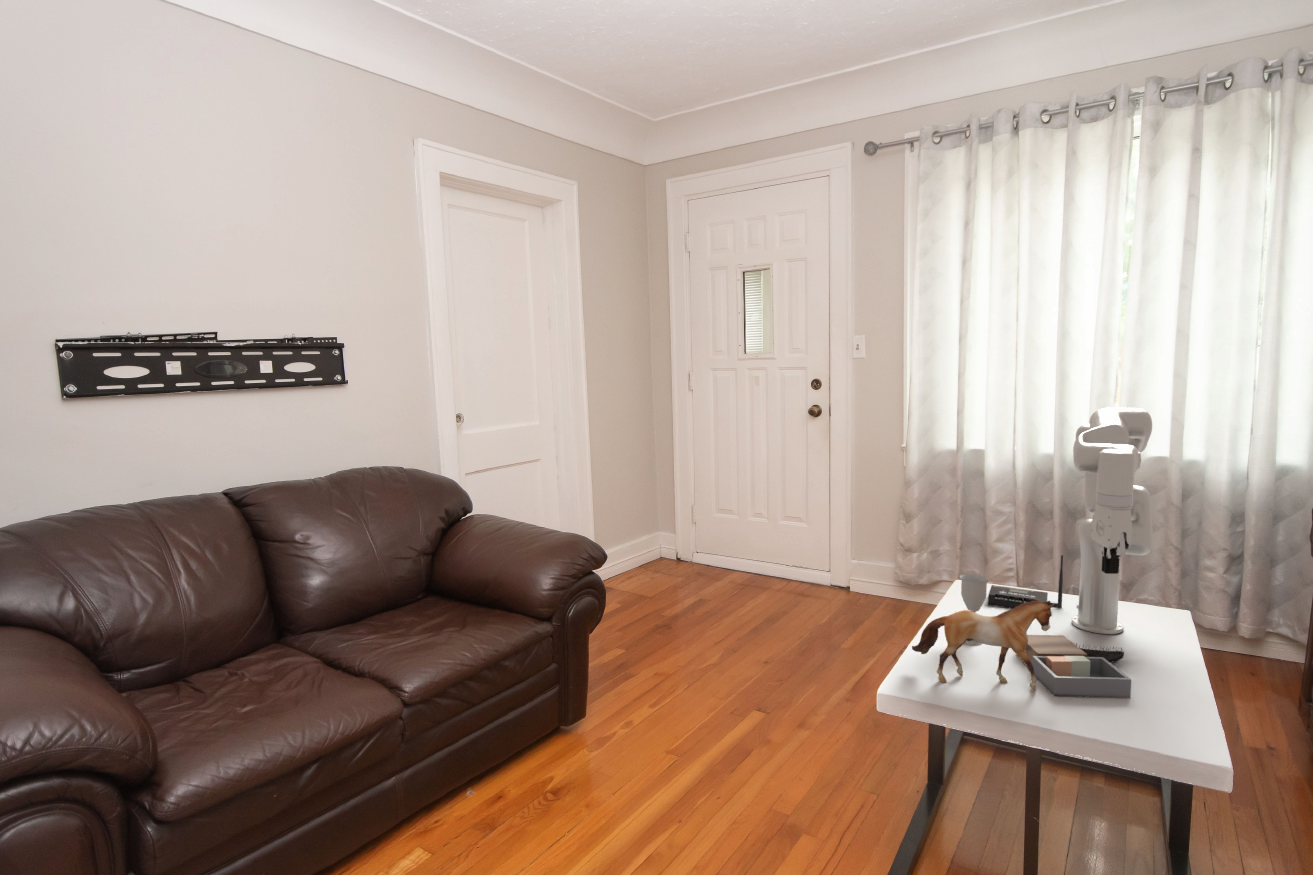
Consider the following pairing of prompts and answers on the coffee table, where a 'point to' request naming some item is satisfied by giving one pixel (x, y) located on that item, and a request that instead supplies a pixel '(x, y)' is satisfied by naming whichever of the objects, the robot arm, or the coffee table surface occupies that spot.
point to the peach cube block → (1059, 665)
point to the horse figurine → (987, 634)
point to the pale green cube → (1079, 666)
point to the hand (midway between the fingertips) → (1109, 572)
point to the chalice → (973, 594)
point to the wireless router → (1022, 594)
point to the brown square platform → (1051, 646)
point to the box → (1085, 680)
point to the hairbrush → (1104, 654)
